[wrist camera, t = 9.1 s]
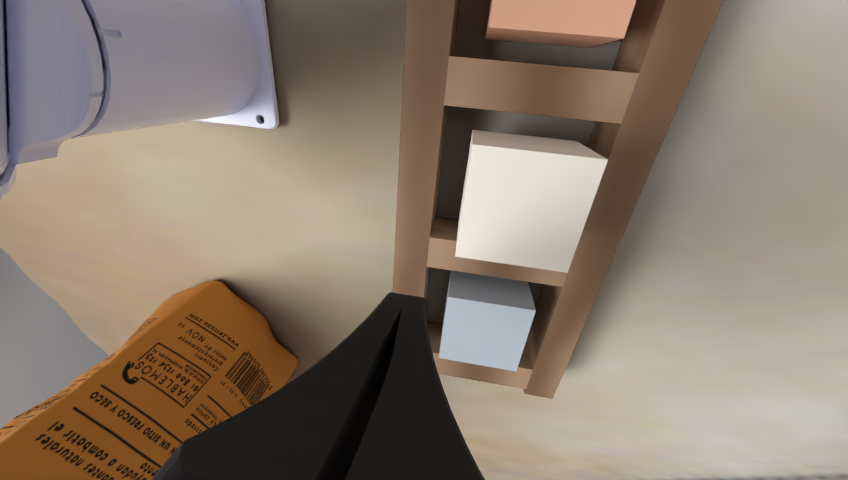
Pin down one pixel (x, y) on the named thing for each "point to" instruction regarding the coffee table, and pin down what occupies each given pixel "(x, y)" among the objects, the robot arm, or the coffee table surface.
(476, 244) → the cream block
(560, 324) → the block rack
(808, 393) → the coffee table surface
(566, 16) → the terracotta block
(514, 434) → the coffee table surface
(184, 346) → the coffee package
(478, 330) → the slate block
